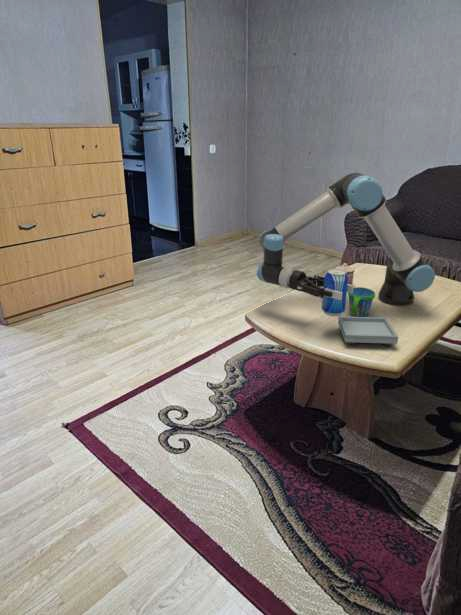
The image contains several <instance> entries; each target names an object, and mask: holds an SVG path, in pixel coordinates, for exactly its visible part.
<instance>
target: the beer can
mask: <svg viewBox="0 0 461 615" xmlns="http://www.w3.org/2000/svg"><path fill="white" fill-rule="evenodd" d="M323 277H324V288H323V289H324V290H325V288H327V289H330V290H335V291H339V292H343V293H342V300H338V299H334V298H331V297H327V296H323V298H321V299H322V300H321V310H322V312H323V313H324V314H325V315H328V316H330V317H339V316H342V315H343V313H345V310H346V303H347V302H346V301H347V295H348V292H347V286H348V276H347V274H346V271H345V270H342V269H335V268H330V269H328V270H327V272H326V274H324V276H323Z"/></svg>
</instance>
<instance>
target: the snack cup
mask: <svg viewBox="0 0 461 615" xmlns="http://www.w3.org/2000/svg"><path fill="white" fill-rule="evenodd" d="M347 295H348V308H349V314H350V315H352V317H368V315H369V314H370V310H371V307H372V304H373V300H374V299H375V297H376V293H375V291H374V290H373V289H370V288H367V287H353V293H350V292H347Z"/></svg>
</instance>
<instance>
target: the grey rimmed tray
mask: <svg viewBox="0 0 461 615" xmlns="http://www.w3.org/2000/svg"><path fill="white" fill-rule="evenodd" d="M337 324H338V326H339V330H340V331H341V334H342V337H343V340H344V343H347V345H348V346H349V347H353V346H354V345H355V343H362V344H363V343H365V344H366V343H367V344H383V345H384V346H385V348H390V347H391V346H392V345H393V344H396V345H397V344H398V340H399V335H398V333H397V332H396V331H395V328H394V327H393V326H392V325H391V323H390V321H389V319H388V318H387V317H375V316H374V317H373V316H372V317H371V316H366V317H355V316H345V315H344V316H342V315H340V316H338V319H337Z"/></svg>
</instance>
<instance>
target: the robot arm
mask: <svg viewBox="0 0 461 615" xmlns="http://www.w3.org/2000/svg"><path fill="white" fill-rule="evenodd" d="M386 203H387V198H386V196H384V192H383V187H382V186H381V184H380V182H379V181H378V180H377V179H376V178H374V177H372V176H369V175H365V174H362V173H360V172H353V173H352V172H351V173H349V174H347V175H344V176H343V177H342V178H340V179H338V180H336V182H334V183H333V184H331V185H329V187H327V189H326V192H324V193H323V194H321V195H320V196H318V197H317V198H315V199H313V201H311V202H310V203H308V204H307V205H305V206H304V207H302V208H300V209H299V210H298V211H296V212H295V213H294V214H292V215H290V216H289V217H288V218H287V219H285V220H284V221H282V222H280V223H279V224H277V225H276V226H274V227H273V228H271V229H270V230H264V231H263V232H261V234H260V235H259V245H260V247H261V249H262V251H263V262H262V263H260V264H259V265H258V267H257V270H256V277H257V279H258V280H260V281H262V282H264V283H267V284H273V285H276V286H280V287H284V288H285V289H291V290H293V291H294V290H295V291H297V292H301V293H302V292H303V293H305V294H308V295H309V296H313V297H316V298H320V299H323V296H327V297H331V298H334V299H338V300H342V293H343V292H339V291H335V290H330V289H327V288H325V290H324V289H323V288H321V287H324V277H325V276H319V275H316V274H315V275H313V276H307V275H306V273H305V272H304V271H301V270H298V269H295V268H294V269H293V268H289V267H285V266H283V256H284V254H283V253H284V245H285V243H286V242H287V241H288V240H291V239H292V238H293V237H295V236H296V235H298V234H299V233H300V232H302V231H303V230H305V229H306V228H308V227H310V226H311V225H312V224H314V223H315V222H317V221H319V220H320V219H321V218H323V217H325V216H326V215H328V214H329V213H330V212H332V211H333V210H335V209H341V208H343V207H344V206H346V205H348V204H349V205H350V206H351V208H352V210H354V212H355V214H356V215H357V217H358V218H361V219H364V220H365V221H366V223H367V224H368V226H369V228H371V231H372V233H373V234H374V236H376V238H377V239H378V241H379V243H380V244H381V246H382V247H383V249H384V250H385V251H386V253H387V261H386V268H385V275H384V276H385V277H384V281H383V283H382V286H381V287H380V289H379V291H378V296H377V298H378V300H379V301H380V302H383V303H385V304H388V305H393V306H410V305H412V304H413V303H414V300H415V294H414V293H420V292H423V291H426V290H428V289H429V288H430V287H431V286H432V285H433V283H434V280H435V278H436V272H435V270H434V268H432V266H431V265H429V264H427V263H426V261H425V259H424V257H423V256H422V254H421V252H419V251H417V250H415V249H413V248H412V247H411V245H410V243H409V241H408V240H407V238H406V237H405V235H404V233H403V232H402V230H401V229H400V227H399V226H398V224H397V223H396V221H395V220H394V218H393V216H392V215H391V213H390V211H389V210H388V208H387V206H386ZM316 283H317V285H316ZM319 286H321V287H319ZM353 288H355V287H354V285H353V284H352V285H349V284H348V286H347V293H348V292H350V293H353Z"/></svg>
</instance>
